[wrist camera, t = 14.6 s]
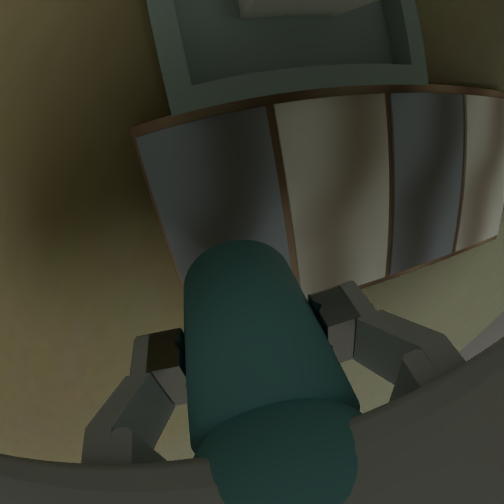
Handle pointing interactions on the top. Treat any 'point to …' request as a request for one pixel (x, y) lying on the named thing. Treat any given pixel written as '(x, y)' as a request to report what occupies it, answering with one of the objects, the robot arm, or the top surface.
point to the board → (331, 178)
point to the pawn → (264, 382)
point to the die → (297, 7)
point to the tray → (281, 50)
